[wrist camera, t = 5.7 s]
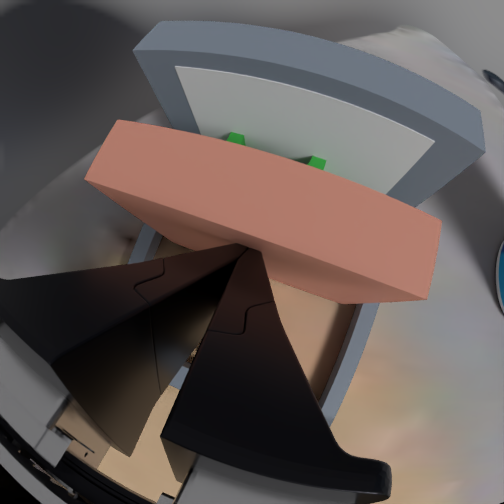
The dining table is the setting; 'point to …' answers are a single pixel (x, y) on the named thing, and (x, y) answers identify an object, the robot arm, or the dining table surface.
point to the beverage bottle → (500, 276)
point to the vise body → (311, 124)
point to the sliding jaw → (270, 213)
